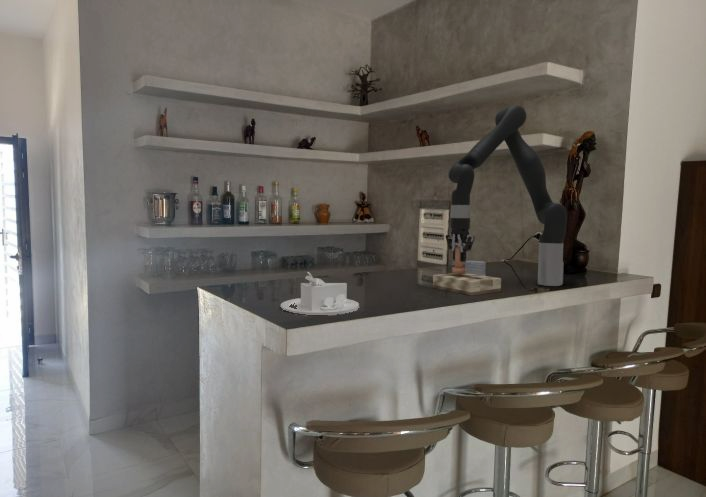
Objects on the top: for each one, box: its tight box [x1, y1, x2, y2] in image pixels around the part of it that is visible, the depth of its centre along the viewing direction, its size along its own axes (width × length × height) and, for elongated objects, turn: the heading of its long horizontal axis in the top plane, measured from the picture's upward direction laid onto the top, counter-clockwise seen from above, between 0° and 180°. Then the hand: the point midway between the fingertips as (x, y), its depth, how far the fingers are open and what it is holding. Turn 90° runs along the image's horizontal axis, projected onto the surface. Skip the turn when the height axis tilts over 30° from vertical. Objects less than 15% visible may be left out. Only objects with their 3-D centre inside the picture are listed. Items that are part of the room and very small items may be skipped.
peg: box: [451, 246, 466, 274], centre depth 199 cm, size 5×5×10 cm
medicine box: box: [464, 260, 487, 276], centre depth 217 cm, size 8×4×9 cm, turn 65°
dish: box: [280, 271, 360, 316], centre depth 162 cm, size 25×25×11 cm
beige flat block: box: [432, 272, 502, 297], centre depth 197 cm, size 20×16×5 cm
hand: (459, 261), depth 199 cm, fingers closed on peg, 3 cm apart
